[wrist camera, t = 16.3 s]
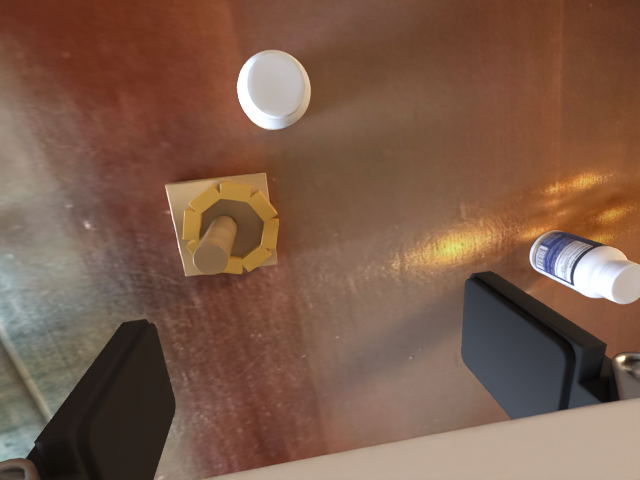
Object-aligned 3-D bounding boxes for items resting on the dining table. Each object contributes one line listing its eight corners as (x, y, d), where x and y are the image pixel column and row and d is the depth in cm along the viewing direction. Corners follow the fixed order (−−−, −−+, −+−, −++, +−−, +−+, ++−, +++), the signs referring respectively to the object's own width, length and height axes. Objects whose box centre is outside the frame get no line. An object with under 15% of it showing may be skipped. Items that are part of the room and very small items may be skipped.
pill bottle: (577, 248, 42) (666, 281, 32) (543, 281, 42) (621, 322, 33) (554, 219, 40) (640, 245, 31) (519, 253, 41) (593, 288, 31)
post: (169, 182, 33) (127, 204, 23) (265, 172, 34) (265, 189, 24) (188, 271, 36) (158, 325, 26) (277, 259, 37) (281, 306, 27)
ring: (189, 176, 31) (186, 178, 30) (282, 189, 33) (283, 191, 32) (184, 263, 34) (180, 268, 32) (271, 271, 35) (271, 277, 34)
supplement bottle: (251, 135, 33) (246, 136, 24) (234, 73, 31) (222, 49, 22) (307, 122, 33) (323, 118, 24) (294, 60, 31) (306, 31, 22)
